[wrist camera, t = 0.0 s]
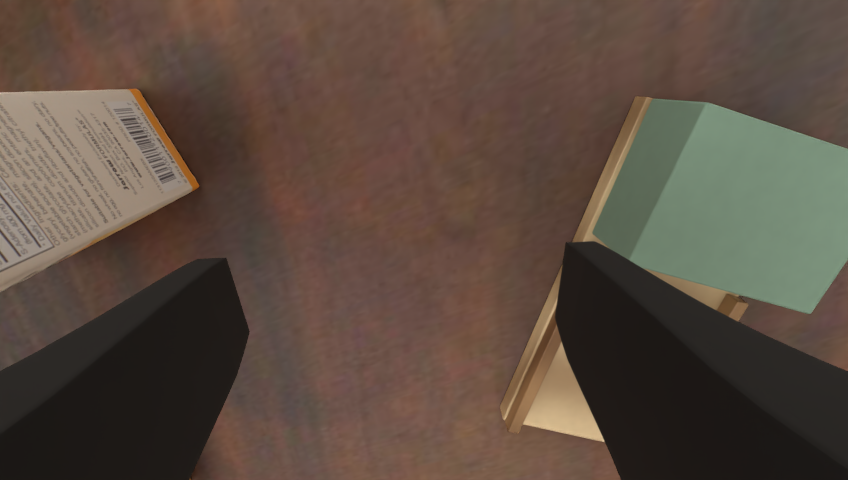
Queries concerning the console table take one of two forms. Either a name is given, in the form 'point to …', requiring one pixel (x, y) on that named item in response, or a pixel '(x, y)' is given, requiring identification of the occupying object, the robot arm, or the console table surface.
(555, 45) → the console table surface
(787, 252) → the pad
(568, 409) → the assembly board
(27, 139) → the supplement box
